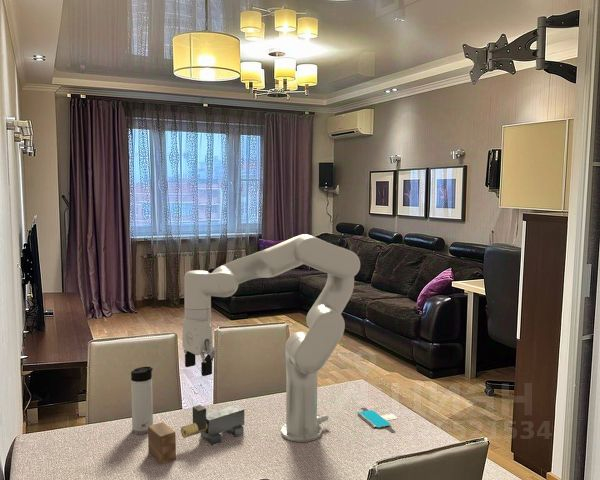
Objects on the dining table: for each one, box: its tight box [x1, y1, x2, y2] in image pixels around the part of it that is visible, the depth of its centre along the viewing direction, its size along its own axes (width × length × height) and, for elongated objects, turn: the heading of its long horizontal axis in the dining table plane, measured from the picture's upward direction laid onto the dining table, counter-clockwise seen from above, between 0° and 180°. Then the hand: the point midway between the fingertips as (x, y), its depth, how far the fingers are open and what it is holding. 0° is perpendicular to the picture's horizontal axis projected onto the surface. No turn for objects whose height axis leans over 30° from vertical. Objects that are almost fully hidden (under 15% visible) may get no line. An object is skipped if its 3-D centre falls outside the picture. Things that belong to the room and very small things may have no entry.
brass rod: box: [180, 404, 208, 439], centre depth 160 cm, size 18×4×8 cm, turn 130°
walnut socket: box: [147, 421, 177, 465], centre depth 150 cm, size 4×8×8 cm, turn 40°
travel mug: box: [130, 366, 154, 435], centre depth 166 cm, size 6×7×20 cm
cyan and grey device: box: [356, 407, 399, 433], centre depth 176 cm, size 20×12×2 cm, turn 22°
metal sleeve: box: [200, 403, 245, 446], centre depth 163 cm, size 12×7×8 cm, turn 130°
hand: (198, 370), depth 156 cm, fingers open, 9 cm apart
